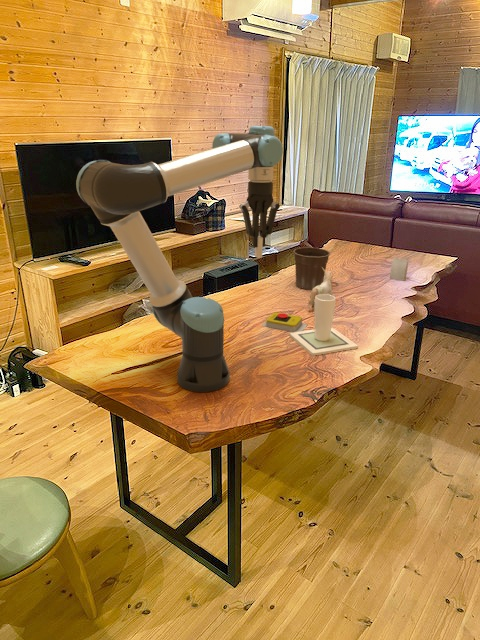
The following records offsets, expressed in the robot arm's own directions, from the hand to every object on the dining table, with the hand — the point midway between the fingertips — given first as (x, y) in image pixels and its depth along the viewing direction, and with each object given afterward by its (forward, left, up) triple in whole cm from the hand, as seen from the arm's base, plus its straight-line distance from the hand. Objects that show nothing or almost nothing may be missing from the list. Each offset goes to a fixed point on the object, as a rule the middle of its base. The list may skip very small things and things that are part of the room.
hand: (258, 256), depth 156 cm
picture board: (+21, -9, -29) cm, 37 cm away
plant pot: (+46, +46, -30) cm, 72 cm away
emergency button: (+15, +8, -30) cm, 35 cm away
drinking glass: (+21, -9, -29) cm, 36 cm away
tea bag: (+92, +42, -30) cm, 105 cm away
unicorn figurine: (+37, +24, -30) cm, 53 cm away
